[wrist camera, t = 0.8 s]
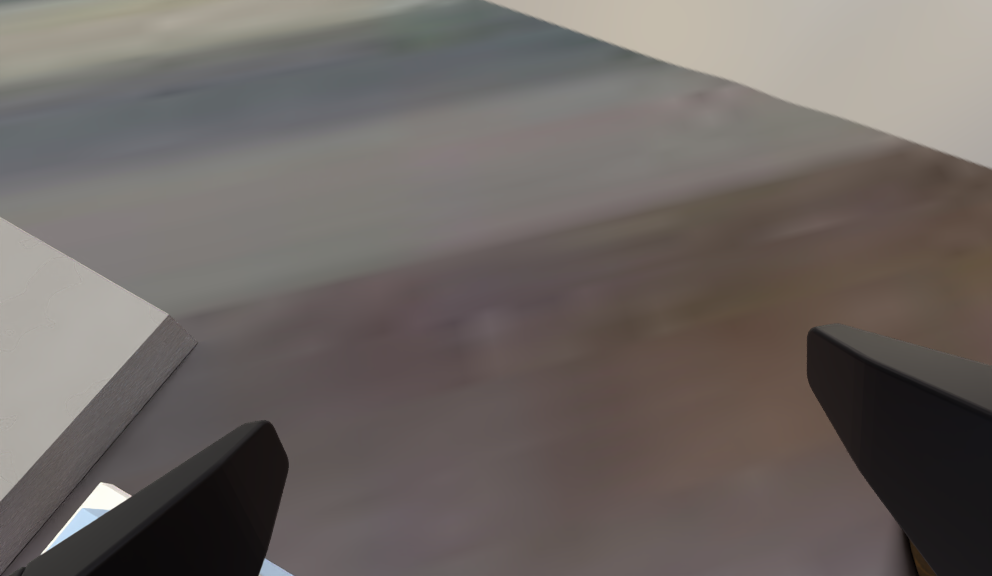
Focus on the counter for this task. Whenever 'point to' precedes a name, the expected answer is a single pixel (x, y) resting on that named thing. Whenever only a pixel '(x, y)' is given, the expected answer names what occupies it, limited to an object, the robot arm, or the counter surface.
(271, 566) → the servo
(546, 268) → the counter surface
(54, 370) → the white flat slab
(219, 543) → the robot arm
